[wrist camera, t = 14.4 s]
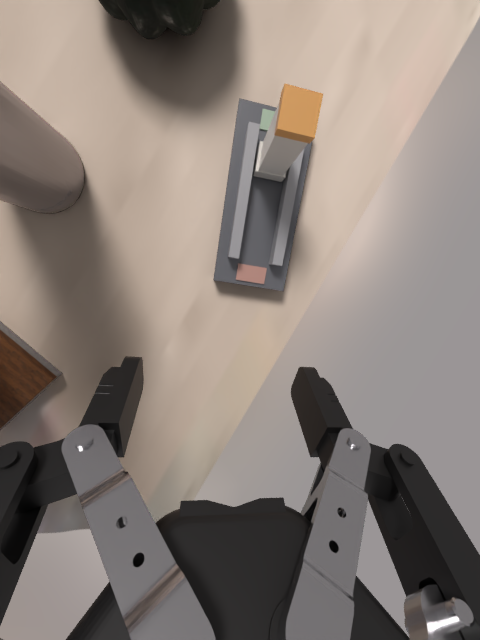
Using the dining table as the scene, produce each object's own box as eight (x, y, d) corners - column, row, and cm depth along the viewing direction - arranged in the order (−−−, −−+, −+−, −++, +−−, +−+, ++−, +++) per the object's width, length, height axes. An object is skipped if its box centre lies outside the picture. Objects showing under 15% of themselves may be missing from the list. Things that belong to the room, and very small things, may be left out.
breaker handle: (281, 182, 30) (317, 138, 20) (253, 175, 30) (274, 128, 20) (286, 154, 30) (325, 94, 19) (257, 147, 29) (282, 82, 19)
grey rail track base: (278, 289, 36) (287, 292, 31) (213, 279, 35) (213, 280, 30) (308, 129, 32) (324, 107, 28) (237, 111, 31) (241, 85, 27)
